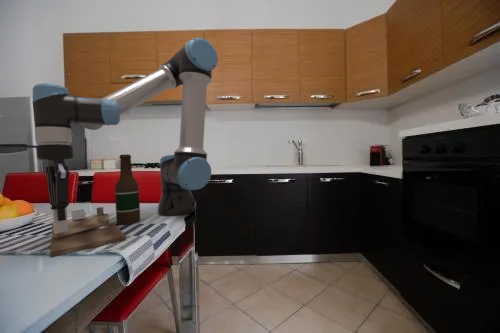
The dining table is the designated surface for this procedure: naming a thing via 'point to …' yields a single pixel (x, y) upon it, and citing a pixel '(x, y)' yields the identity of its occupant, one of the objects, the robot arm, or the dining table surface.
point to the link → (85, 223)
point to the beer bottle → (127, 194)
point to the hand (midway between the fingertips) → (61, 232)
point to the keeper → (81, 214)
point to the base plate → (85, 240)
